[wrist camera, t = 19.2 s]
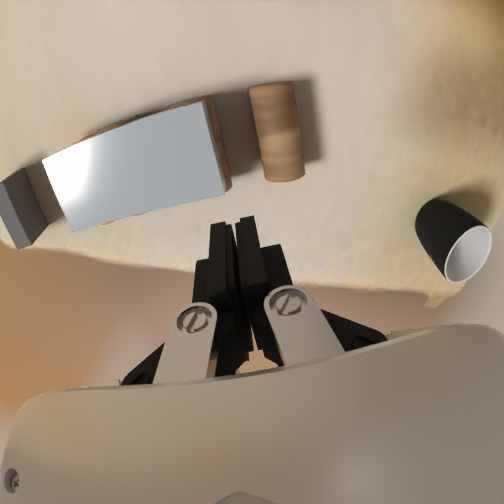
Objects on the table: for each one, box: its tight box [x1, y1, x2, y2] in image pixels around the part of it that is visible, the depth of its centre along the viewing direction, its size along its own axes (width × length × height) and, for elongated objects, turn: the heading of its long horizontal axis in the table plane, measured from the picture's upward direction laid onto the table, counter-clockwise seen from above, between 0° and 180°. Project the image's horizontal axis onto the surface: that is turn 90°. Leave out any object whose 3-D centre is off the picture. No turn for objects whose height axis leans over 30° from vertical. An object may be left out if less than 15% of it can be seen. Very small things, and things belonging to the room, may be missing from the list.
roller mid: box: [169, 95, 232, 192], centre depth 29 cm, size 10×4×4 cm, turn 10°
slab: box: [42, 100, 226, 232], centre depth 27 cm, size 18×9×2 cm, turn 101°
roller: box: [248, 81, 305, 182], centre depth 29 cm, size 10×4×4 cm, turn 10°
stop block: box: [0, 168, 48, 250], centre depth 30 cm, size 3×9×5 cm, turn 10°
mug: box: [415, 200, 492, 283], centre depth 35 cm, size 12×9×10 cm
